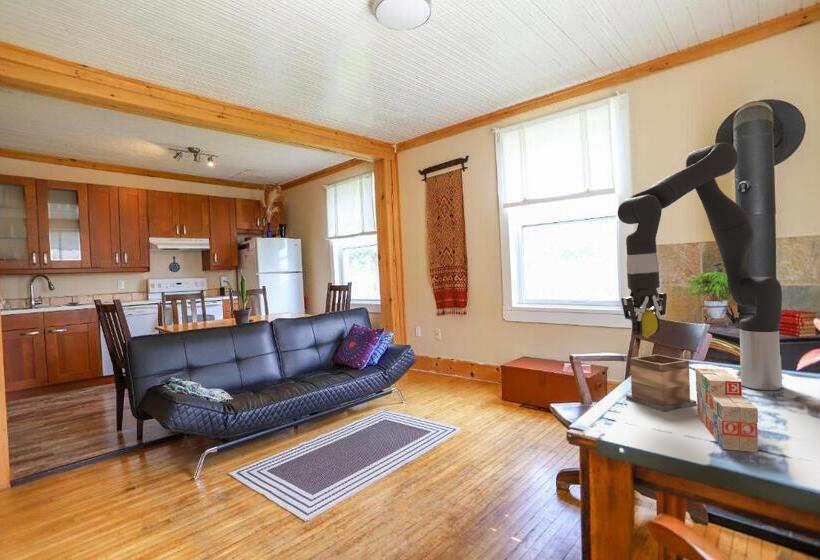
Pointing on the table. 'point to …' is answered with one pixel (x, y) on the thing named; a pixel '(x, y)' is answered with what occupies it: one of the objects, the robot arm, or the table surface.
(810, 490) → the table surface
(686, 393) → the open wooden crate
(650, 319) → the lemon
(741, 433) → the stack of blocks
